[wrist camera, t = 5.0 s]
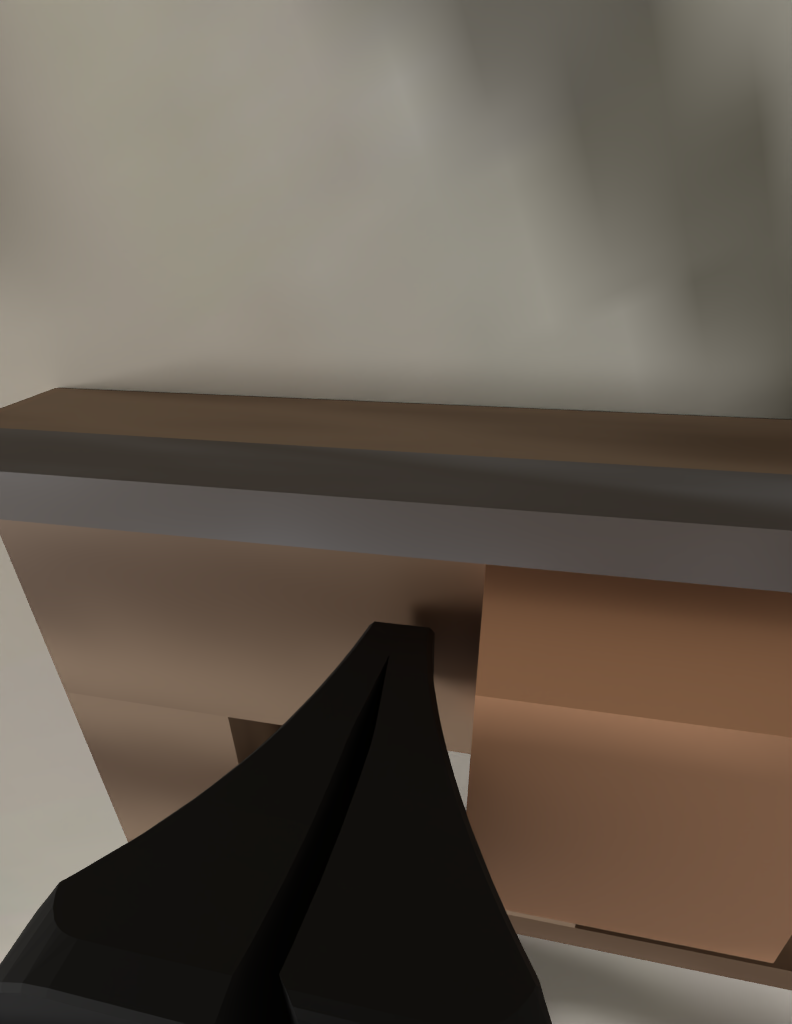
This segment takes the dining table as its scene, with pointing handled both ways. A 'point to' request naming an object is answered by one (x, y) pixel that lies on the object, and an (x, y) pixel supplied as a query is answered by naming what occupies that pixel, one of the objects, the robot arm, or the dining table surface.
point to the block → (637, 756)
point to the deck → (346, 560)
